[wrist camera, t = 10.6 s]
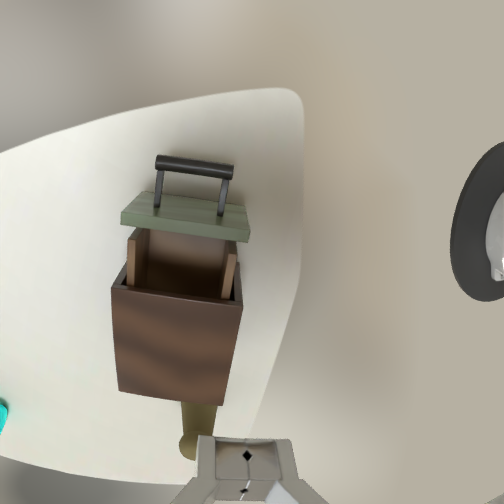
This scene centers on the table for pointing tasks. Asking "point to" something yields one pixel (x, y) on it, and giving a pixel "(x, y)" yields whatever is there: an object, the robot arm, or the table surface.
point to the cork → (195, 426)
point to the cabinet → (174, 341)
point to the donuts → (2, 417)
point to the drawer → (185, 235)
